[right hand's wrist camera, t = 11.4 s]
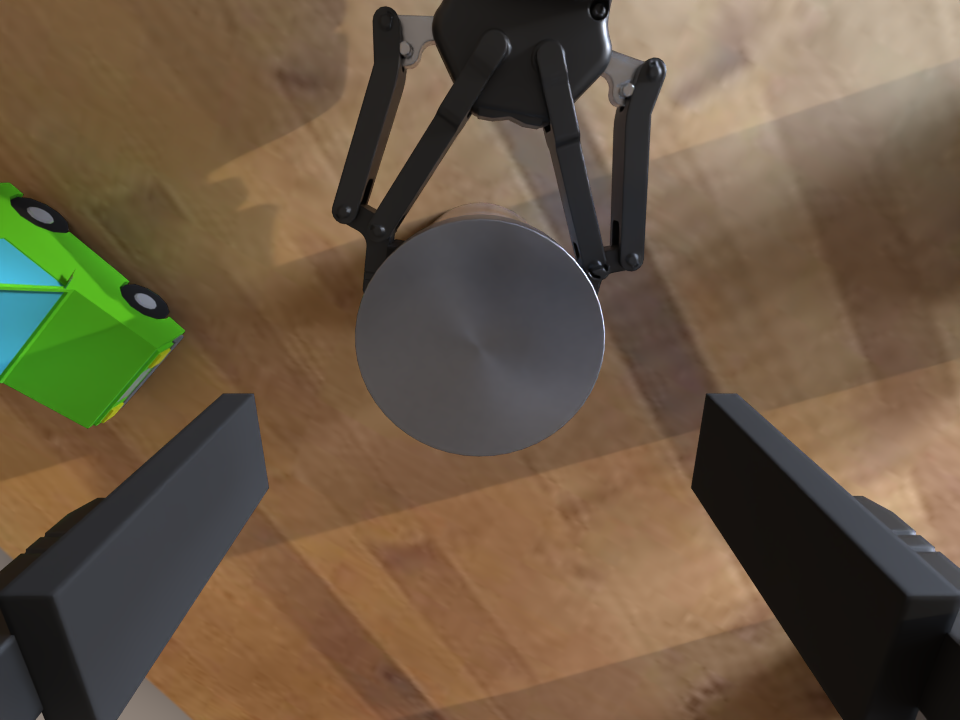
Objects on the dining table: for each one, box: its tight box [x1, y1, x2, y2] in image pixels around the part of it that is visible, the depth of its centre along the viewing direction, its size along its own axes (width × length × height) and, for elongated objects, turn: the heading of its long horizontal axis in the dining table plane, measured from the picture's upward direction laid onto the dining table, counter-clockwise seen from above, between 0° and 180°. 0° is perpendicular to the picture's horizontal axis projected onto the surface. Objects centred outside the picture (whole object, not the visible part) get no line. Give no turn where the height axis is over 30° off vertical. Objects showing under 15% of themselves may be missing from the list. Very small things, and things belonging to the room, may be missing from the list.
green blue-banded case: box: [0, 183, 185, 429], centre depth 31 cm, size 10×13×10 cm
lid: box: [355, 214, 605, 456], centre depth 21 cm, size 10×10×2 cm
